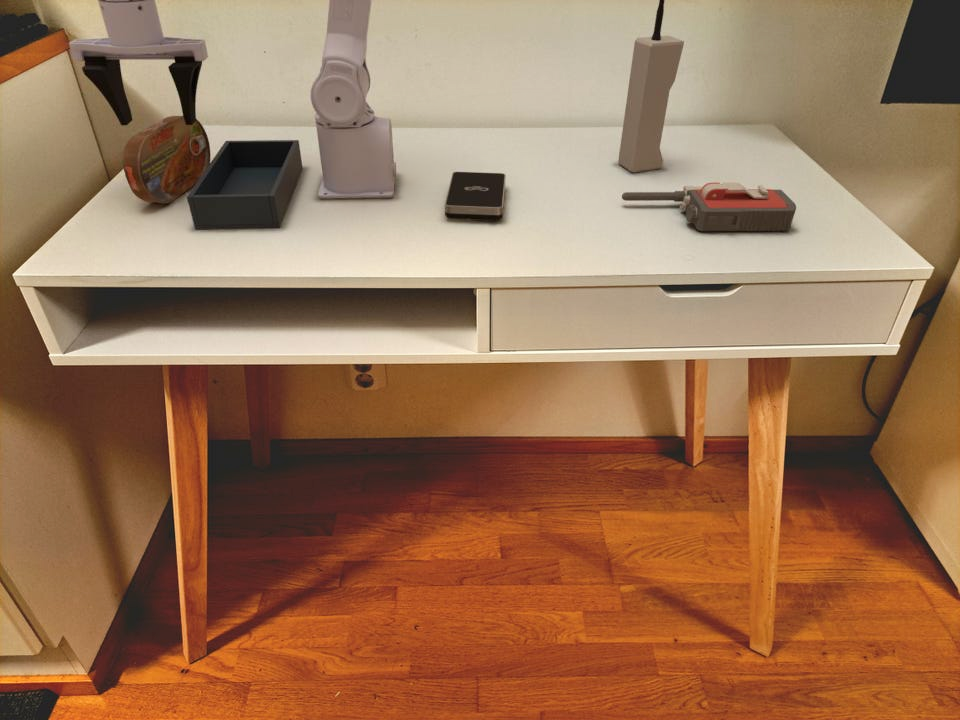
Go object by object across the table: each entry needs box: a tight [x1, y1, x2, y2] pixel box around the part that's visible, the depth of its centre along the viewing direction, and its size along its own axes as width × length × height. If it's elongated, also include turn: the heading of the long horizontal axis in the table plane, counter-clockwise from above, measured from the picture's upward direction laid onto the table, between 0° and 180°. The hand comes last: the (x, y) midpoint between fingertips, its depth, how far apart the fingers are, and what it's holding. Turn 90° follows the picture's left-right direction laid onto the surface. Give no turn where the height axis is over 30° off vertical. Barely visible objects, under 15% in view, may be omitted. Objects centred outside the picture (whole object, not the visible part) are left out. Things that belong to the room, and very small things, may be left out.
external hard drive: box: [444, 171, 506, 221], centre depth 85 cm, size 7×11×2 cm, turn 176°
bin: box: [186, 139, 304, 230], centre depth 85 cm, size 10×19×4 cm, turn 4°
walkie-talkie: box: [621, 182, 797, 232], centre depth 82 cm, size 9×4×20 cm
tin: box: [121, 115, 211, 205], centre depth 86 cm, size 15×3×8 cm, turn 168°
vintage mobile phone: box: [617, 0, 685, 174], centre depth 89 cm, size 4×5×25 cm
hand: (159, 122), depth 83 cm, fingers open, 7 cm apart
